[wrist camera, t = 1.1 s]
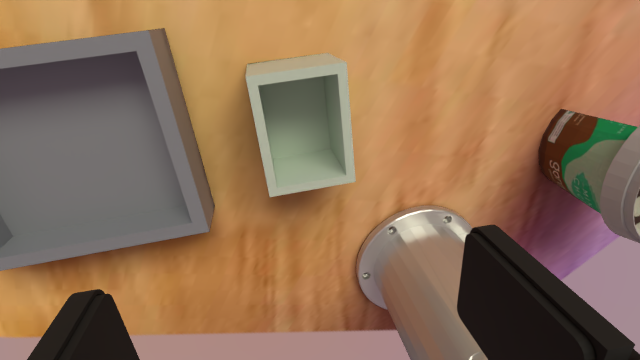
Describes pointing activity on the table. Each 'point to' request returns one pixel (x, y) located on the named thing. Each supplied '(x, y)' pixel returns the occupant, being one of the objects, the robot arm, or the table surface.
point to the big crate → (95, 149)
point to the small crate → (302, 122)
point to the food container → (596, 166)
